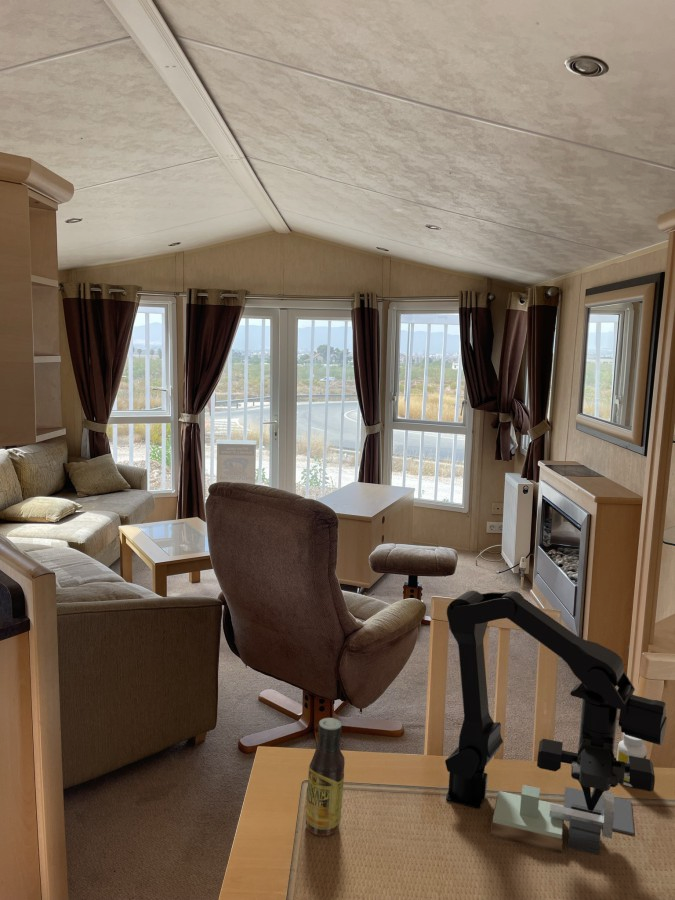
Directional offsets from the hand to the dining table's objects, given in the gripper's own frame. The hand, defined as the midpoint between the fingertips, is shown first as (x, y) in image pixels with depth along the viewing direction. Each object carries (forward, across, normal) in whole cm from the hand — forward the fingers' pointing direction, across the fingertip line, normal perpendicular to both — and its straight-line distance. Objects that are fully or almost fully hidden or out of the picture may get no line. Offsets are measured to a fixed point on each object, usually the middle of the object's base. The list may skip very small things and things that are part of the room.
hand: (590, 809), depth 128 cm
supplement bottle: (+7, +8, +24) cm, 26 cm away
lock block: (+6, -1, 0) cm, 7 cm away
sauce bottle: (+6, -44, -14) cm, 47 cm away
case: (+6, -10, 0) cm, 12 cm away
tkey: (+3, -2, 0) cm, 3 cm away
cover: (+4, -10, 0) cm, 11 cm away
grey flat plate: (+6, +2, +11) cm, 13 cm away
